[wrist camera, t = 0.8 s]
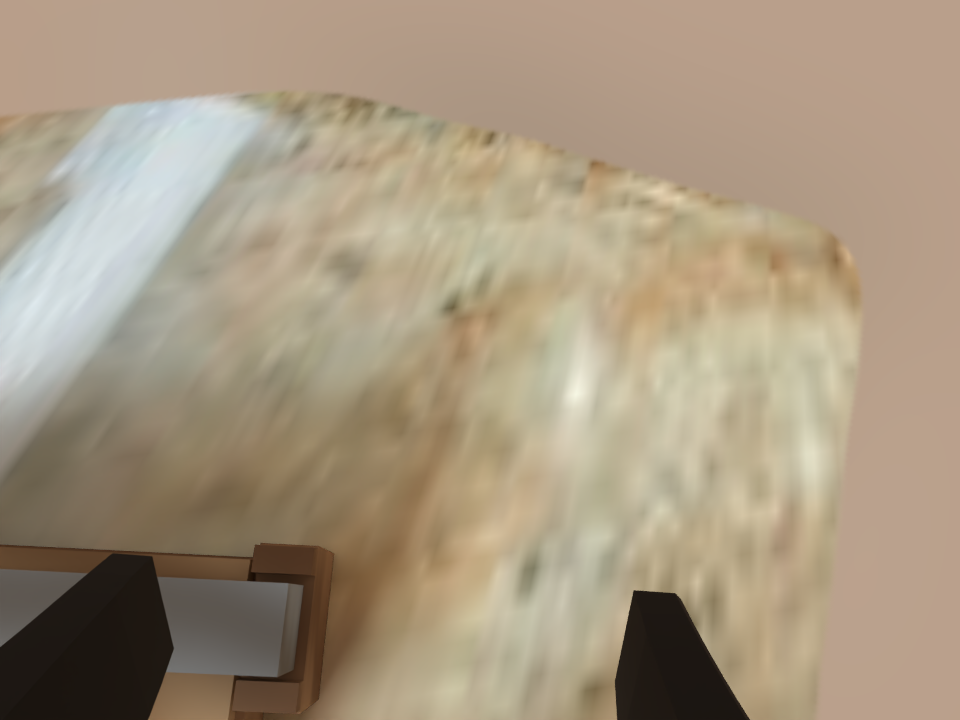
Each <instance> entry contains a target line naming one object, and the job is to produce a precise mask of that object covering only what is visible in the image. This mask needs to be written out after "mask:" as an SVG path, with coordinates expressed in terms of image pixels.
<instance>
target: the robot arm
mask: <svg viewBox="0 0 960 720" xmlns="http://www.w3.org/2000/svg"><path fill="white" fill-rule="evenodd" d="M173 650H174V646H173V642H172V638H171V634H170V629H169V625H168V621H167V617H166V612H165V608H164V604H163V600H162V595H161V591H160V587H159V583H158V578H157V574H156V570H155V566H154V561H153V557H152V556H146V555H132V554H118V553H112V554H111V555H110V556H108V557H107V558H106V559H105V560H103V561H102V562H101V563H100V564H99V565H97V566H96V567H95V568H94V569H93V570H91V571H90V572H89V573H88V574H87V575H85V576H84V577H83V578H82V579H81V580H79V581H78V582H77V583H76V584H75V585H74V586H72V587H71V588H70V589H69V590H68V591H66V592H65V593H64V594H63V595H62V596H61V597H59V598H58V599H57V600H56V601H55V602H53V603H52V604H51V605H50V606H49V607H48V608H46V609H45V610H44V611H43V612H42V613H40V614H39V615H38V616H37V617H36V618H35V619H33V620H32V621H31V622H30V623H29V624H27V625H26V626H25V627H24V628H23V629H21V630H20V631H19V632H18V633H17V634H15V635H14V636H13V637H12V638H11V639H9V640H8V641H7V642H6V643H4V644H3V645H2V646H1V647H0V720H148V719H149V717H150V714H151V711H152V709H153V706H154V703H155V701H156V698H157V695H158V693H159V690H160V688H161V685H162V682H163V679H164V676H165V673H166V670H167V668H168V665H169V662H170V659H171V656H172V653H173ZM615 690H616V707H617V720H750V719H749V718H748V716H747V714H746V713H745V711H744V710H743V708H742V707H741V705H740V703H739V702H738V700H737V699H736V697H735V695H734V694H733V692H732V690H731V689H730V687H729V685H728V684H727V682H726V680H725V679H724V677H723V675H722V674H721V672H720V670H719V668H718V667H717V665H716V663H715V662H714V660H713V658H712V656H711V655H710V653H709V651H708V649H707V647H706V646H705V644H704V642H703V640H702V638H701V637H700V635H699V633H698V631H697V629H696V627H695V626H694V624H693V622H692V620H691V618H690V616H689V614H688V612H687V610H686V608H685V606H684V604H683V602H682V600H681V599H680V598H679V597H678V596H677V595H676V594H675V593H663V592H649V591H635V590H634V591H633V596H632V601H631V606H630V611H629V616H628V621H627V625H626V630H625V635H624V640H623V645H622V650H621V655H620V659H619V664H618V669H617V674H616V679H615Z"/></svg>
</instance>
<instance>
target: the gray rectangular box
mask: <svg viewBox="0 0 960 720" xmlns="http://www.w3.org/2000/svg"><path fill="white" fill-rule="evenodd" d="M87 574H88V573H71V572H51V571H31V570H11V569H0V647H1V646H2V645H3V644H4V643H6V642H7V641H8V640H9V639H11V638H12V637H13V636H14V635H15V634H17V633H18V632H19V631H20V630H21V629H23V628H24V627H25V626H26V625H27V624H29V623H30V622H31V621H32V620H33V619H35V618H36V617H37V616H38V615H39V614H40V613H42V612H43V611H44V610H45V609H46V608H48V607H49V606H50V605H51V604H52V603H53V602H55V601H56V600H57V599H58V598H59V597H61V596H62V595H63V594H64V593H65V592H66V591H68V590H69V589H70V588H71V587H72V586H74V585H75V584H76V583H77V582H78V581H79V580H81V579H82V578H83V577H84V576H85V575H87ZM157 578H158V583H159V587H160V591H161V595H162V600H163V604H164V608H165V612H166V617H167V621H168V625H169V629H170V634H171V638H172V642H173V646H174V650H173V653H172V656H171V659H170V662H169V665H168V668H167V670H166V672H174V673H196V674H218V675H240V676H262V677H279V676H281V675H283V674H285V673H288V672H290V671H292V670H294V664H295V656H296V647H297V638H298V630H299V621H300V613H301V604H302V595H303V587H304V585H297V584H290V583H272V582H252V581H232V580H211V579H191V578H171V577H157Z"/></svg>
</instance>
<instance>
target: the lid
mask: <svg viewBox="0 0 960 720" xmlns="http://www.w3.org/2000/svg"><path fill="white" fill-rule="evenodd" d="M111 554H112V552H92V551H73V550H53V549H33V548H14V547H0V569H11V570H31V571H51V572H71V573H89V572H90V571H91V570H93V569H94V568H95V567H96V566H97V565H99V564H100V563H101V562H102V561H103V560H105V559H106V558H107V557H108V556H110V555H111ZM118 554H132V553H118ZM132 555H146V556H152V557H153V561H154V566H155V570H156V574H157V577H171V578H191V579H211V580H232V581H252V582H253V581H254V572H251V570H252V562H253V560H250V559H230V558H211V557H191V556H171V555H152V554H132ZM238 679H240V675H218V674H196V673H174V672H166V673H165V676H164V679H163V682H162V685H161V688H160V690H159V693H158V695H157V698H156V701H155V703H154V706H153V709H152V711H151V714H150V717H149V719H148V720H235V712H236V711H232V707H233V700H234V693H235V685H236V680H238Z"/></svg>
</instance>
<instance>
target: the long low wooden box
mask: <svg viewBox="0 0 960 720" xmlns="http://www.w3.org/2000/svg"><path fill="white" fill-rule="evenodd" d="M0 547H14V548H33V549H53V550H73V551H92V552H112V553H132V554H152V555H171V556H191V557H211V558H230V559H250V560H253V562H252V570H251V572H254V581H253V582H272V583H290V584H297V585H304V587H303V595H302V604H301V613H300V621H299V630H298V638H297V647H296V656H295V664H294V670H292V671H290V672H288V673H285V674H283V675H281V676H279V677H262V676H240V679H238V680H236V685H235V693H234V700H233V707H232V711H236V712H235V720H262V718H263V712H265V713H288V714H300V713H302V712H303V711H304V710H305V709H307V708H308V707H309V706H311V705H312V704H313V703H314V702H316V701H317V700H318V699H319V691H320V681H321V672H322V662H323V652H324V643H325V633H326V624H327V614H328V605H329V595H330V586H331V576H332V567H333V557H334V553H332V552H330V551H328V550H325V549H323V548H321V547H319V546H306V545H287V544H268V543H261V544H260V545H255V548H254V555H253V558H252V557H232V556H212V555H193V554H173V553H154V552H134V551H114V550H95V549H75V548H55V547H36V546H16V545H0Z"/></svg>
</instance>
